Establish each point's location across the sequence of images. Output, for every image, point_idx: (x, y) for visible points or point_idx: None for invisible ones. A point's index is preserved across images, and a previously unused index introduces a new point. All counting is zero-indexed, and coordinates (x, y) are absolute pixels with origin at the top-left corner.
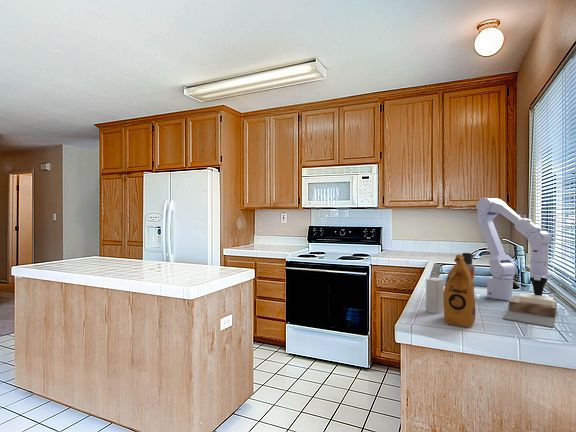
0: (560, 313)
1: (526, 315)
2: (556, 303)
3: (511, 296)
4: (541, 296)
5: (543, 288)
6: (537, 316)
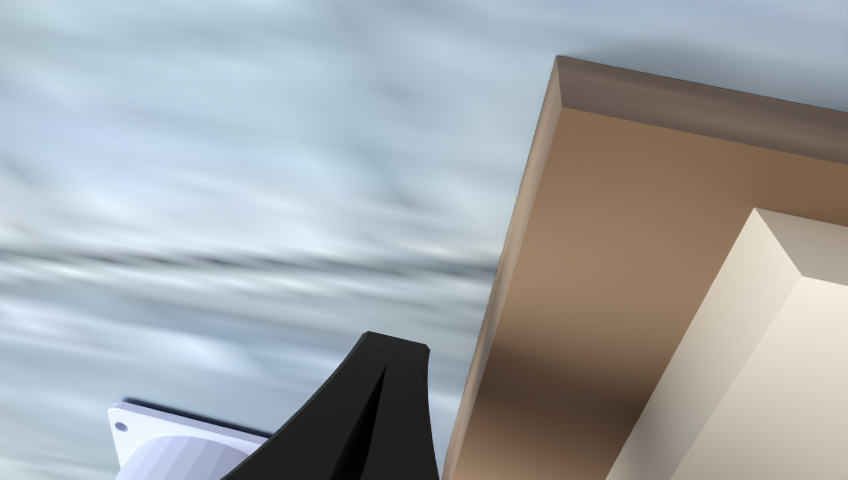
0: (767, 26)
1: None
2: (761, 143)
3: (225, 473)
4: (782, 462)
5: (307, 436)
6: None
